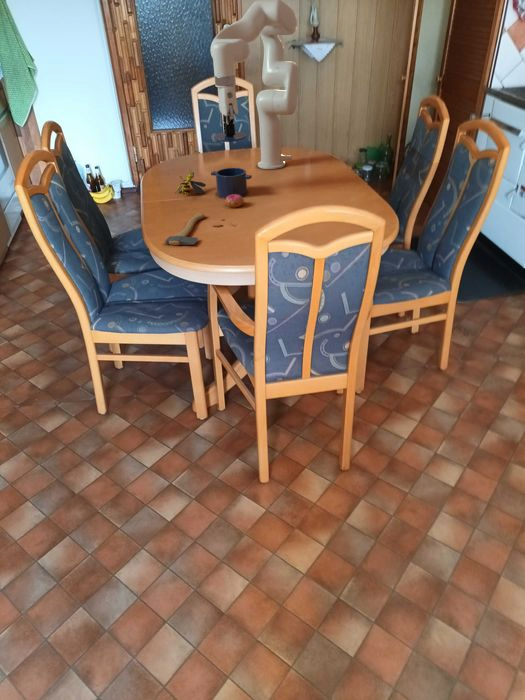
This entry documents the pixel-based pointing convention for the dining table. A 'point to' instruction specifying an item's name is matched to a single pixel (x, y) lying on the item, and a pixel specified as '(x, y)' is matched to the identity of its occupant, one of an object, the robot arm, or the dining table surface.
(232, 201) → the donut
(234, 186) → the pot
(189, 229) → the hand axe
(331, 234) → the dining table surface
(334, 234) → the dining table surface
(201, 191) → the toy
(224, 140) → the pot lid
